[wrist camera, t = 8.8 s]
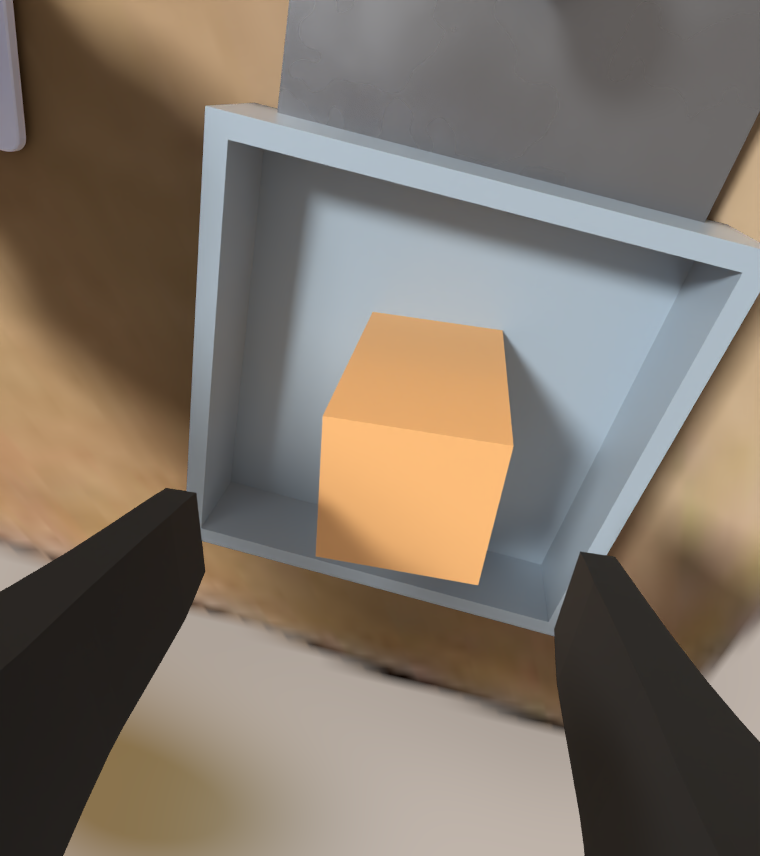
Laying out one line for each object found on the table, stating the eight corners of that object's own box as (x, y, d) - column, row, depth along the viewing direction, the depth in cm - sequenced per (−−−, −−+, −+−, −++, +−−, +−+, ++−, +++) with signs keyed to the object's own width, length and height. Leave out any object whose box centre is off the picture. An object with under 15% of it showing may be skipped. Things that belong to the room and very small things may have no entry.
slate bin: (221, 480, 24) (184, 536, 21) (254, 102, 17) (205, 105, 14) (548, 568, 24) (558, 637, 21) (726, 224, 17) (781, 254, 14)
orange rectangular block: (362, 423, 21) (315, 556, 15) (372, 311, 19) (322, 415, 13) (478, 441, 21) (478, 584, 15) (502, 330, 18) (513, 446, 12)
